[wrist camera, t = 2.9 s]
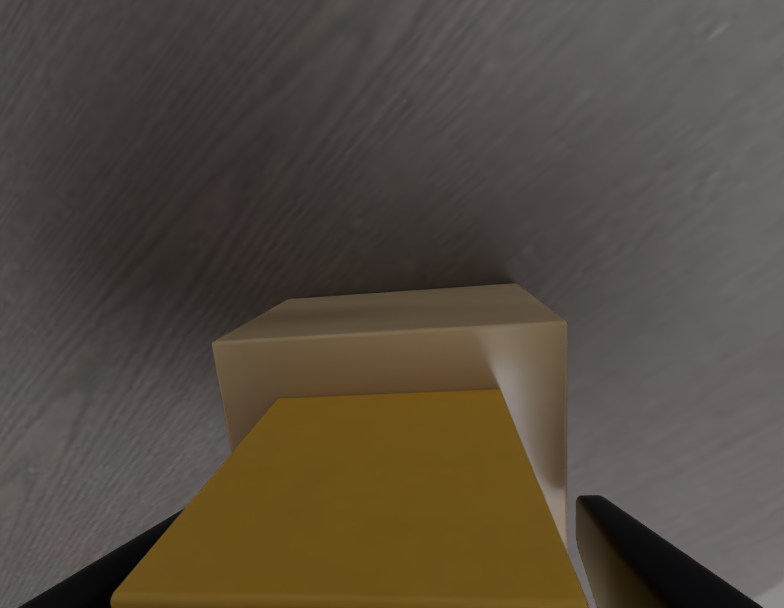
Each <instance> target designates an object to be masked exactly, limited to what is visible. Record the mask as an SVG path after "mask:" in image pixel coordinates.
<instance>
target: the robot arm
mask: <svg viewBox="0 0 784 608" xmlns="http://www.w3.org/2000/svg"><path fill="white" fill-rule="evenodd" d="M184 509H185V508H184ZM184 509H183V510H184ZM183 510H181V511H179V512H178V513H176V514H174V515H173V516H171V517H169V518H167V519H166V520H164V521H162V522H161V523H159V524H157V525H156V526H154V527H152V528H151V529H149V530H147V531H146V532H144V533H142V534H141V535H139V536H137V537H136V538H134V539H132V540H131V541H129V542H127V543H126V544H124V545H122V546H121V547H119V548H117V549H116V550H114V551H112V552H110V553H109V554H107V555H105V556H104V557H102V558H100V559H99V560H97V561H95V562H94V563H92V564H90V565H89V566H87V567H85V568H84V569H82V570H80V571H79V572H77V573H75V574H74V575H72V576H70V577H69V578H67V579H65V580H64V581H62V582H60V583H59V584H57V585H55V586H54V587H52V588H50V589H48V590H47V591H45V592H43V593H42V594H40V595H38V596H37V597H35V598H33V599H32V600H30V601H28V602H27V603H25V604H23V605H22V606H20V607H18V608H111V604H110V601H111V597H112V595H113V593H114V591H115V590H116V589H117V588H118V587H119V586H120V584H121V583H122V582H123V581H124V580H125V579H126V577H127V576H128V575H129V574H130V573H131V571H132V570H133V569H134V568H135V567H136V566H137V564H138V563H139V562H140V561H141V560H142V558H143V557H144V556H145V555H146V554H147V553H148V551H149V550H150V549H151V548H152V547H153V546H154V544H155V543H156V542H157V541H158V540H159V538H160V537H161V536H162V535H163V534H164V533H165V531H166V530H167V529H168V528H169V527H170V525H171V524H172V523H173V522H174V521H175V520H176V518H177V517H178V516H179V515H180V514H181V513H182V511H183ZM576 540H577V546H578V549H579V553H580V556H581V559H582V562H583V565H584V568H585V571H586V574H587V577H588V581H589V584H590V587H591V590H592V593H593V596H594V599H595V602H596V605H597V608H763V607H761V606H760V605H759V604H757V603H756V602H754V601H753V600H751V599H750V598H749V597H747V596H746V595H744V594H743V593H741V592H740V591H738V590H737V589H736V588H734V587H733V586H731V585H730V584H728V583H727V582H725V581H724V580H723V579H721V578H720V577H718V576H717V575H715V574H714V573H712V572H711V571H710V570H708V569H707V568H705V567H704V566H702V565H701V564H699V563H698V562H697V561H695V560H694V559H692V558H691V557H689V556H688V555H686V554H685V553H684V552H682V551H681V550H679V549H678V548H676V547H675V546H673V545H672V544H671V543H669V542H668V541H666V540H665V539H663V538H662V537H660V536H659V535H658V534H656V533H655V532H653V531H652V530H650V529H649V528H647V527H646V526H645V525H643V524H642V523H640V522H639V521H637V520H636V519H634V518H633V517H632V516H630V515H629V514H627V513H626V512H624V511H623V510H621V509H620V508H619V507H617V506H616V505H614V504H613V503H611V502H610V501H608V500H607V499H605V498H604V497H602V496H599V495H584V496H579V497H578V498H577V500H576Z"/></svg>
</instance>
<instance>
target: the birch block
mask: <svg viewBox="0 0 784 608" xmlns="http://www.w3.org/2000/svg"><path fill="white" fill-rule="evenodd" d="M212 349H213V354H214V360H215V365H216V371H217V376H218V382H219V387H220V392H221V398H222V403H223V409H224V414H225V419H226V425H227V430H228V436H229V441H230V447H231V452H233V451H234V450H235V449H236V448H237V446H238V445H239V444H240V443H241V442H242V441H243V439H244V438H245V437H246V436H247V435H248V434H249V432H250V431H251V430H252V429H253V428H254V426H255V425H256V424H257V423H258V422H259V421H260V419H261V418H262V417H263V416H264V415H265V413H266V412H267V411H268V410H269V409H270V408H271V406H272V405H273V404H274V403H275V402H276V401H277V400H278V399H280V398H300V397H324V396H348V395H371V394H395V393H419V392H443V391H467V390H490V389H498V390H501V392H502V394H503V396H504V399H505V401H506V404H507V406H508V409H509V411H510V414H511V416H512V418H513V421H514V423H515V426H516V428H517V431H518V433H519V436H520V438H521V440H522V443H523V445H524V448H525V450H526V453H527V455H528V458H529V460H530V463H531V465H532V467H533V470H534V472H535V475H536V477H537V480H538V482H539V485H540V487H541V489H542V492H543V494H544V497H545V499H546V502H547V504H548V507H549V509H550V512H551V514H552V516H553V519H554V521H555V524H556V526H557V529H558V531H559V534H560V536H561V538H562V541H563V543H564V546H565V548H566V551H567V323H566V321H565V320H564V319H563V318H561V317H560V316H559V315H557V314H556V313H555V312H553V311H552V310H551V309H549V308H548V307H547V306H545V305H544V304H543V303H541V302H540V301H539V300H538V299H536V298H535V297H534V296H532V295H531V294H530V293H528V292H527V291H526V290H524V289H523V288H522V287H520V286H519V285H518V284H516V283H511V284H497V285H483V286H469V287H454V288H440V289H426V290H412V291H397V292H383V293H369V294H354V295H340V296H326V297H312V298H297V299H288V300H286V301H284V302H282V303H281V304H279V305H277V306H275V307H274V308H272V309H270V310H268V311H266V312H265V313H263V314H261V315H259V316H258V317H256V318H254V319H252V320H251V321H249V322H247V323H245V324H243V325H242V326H240V327H238V328H236V329H235V330H233V331H231V332H229V333H228V334H226V335H224V336H222V337H221V338H219V339H217V340H215V341H213V343H212Z"/></svg>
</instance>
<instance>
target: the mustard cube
mask: <svg viewBox="0 0 784 608" xmlns="http://www.w3.org/2000/svg"><path fill="white" fill-rule="evenodd" d="M110 604H111V608H589V605H588V602H587V600H586V597H585V595H584V592H583V590H582V587H581V585H580V583H579V580H578V578H577V575H576V573H575V570H574V568H573V565H572V563H571V561H570V558H569V556H568V553H567V551H566V548H565V546H564V543H563V541H562V538H561V536H560V534H559V531H558V529H557V526H556V524H555V521H554V519H553V516H552V514H551V512H550V509H549V507H548V504H547V502H546V499H545V497H544V494H543V492H542V489H541V487H540V485H539V482H538V480H537V477H536V475H535V472H534V470H533V467H532V465H531V463H530V460H529V458H528V455H527V453H526V450H525V448H524V445H523V443H522V440H521V438H520V436H519V433H518V431H517V428H516V426H515V423H514V421H513V418H512V416H511V414H510V411H509V409H508V406H507V404H506V401H505V399H504V396H503V394H502V392H501V390H498V389H490V390H467V391H443V392H419V393H395V394H371V395H348V396H324V397H300V398H280V399H278V400H277V401H276V402H275V403H274V404H273V405H272V406H271V408H270V409H269V410H268V411H267V412H266V413H265V415H264V416H263V417H262V418H261V419H260V421H259V422H258V423H257V424H256V425H255V426H254V428H253V429H252V430H251V431H250V432H249V434H248V435H247V436H246V437H245V438H244V439H243V441H242V442H241V443H240V444H239V445H238V446H237V448H236V449H235V450H234V451H233V452H232V454H231V455H230V456H229V457H228V458H227V459H226V461H225V462H224V463H223V464H222V465H221V467H220V468H219V469H218V470H217V471H216V472H215V474H214V475H213V476H212V477H211V478H210V479H209V481H208V482H207V483H206V484H205V485H204V487H203V488H202V489H201V490H200V491H199V492H198V494H197V495H196V496H195V497H194V498H193V500H192V501H191V502H190V503H189V504H188V505H187V507H186V508H185V509H184V510H183V511H182V513H181V514H180V515H179V516H178V517H177V518H176V520H175V521H174V522H173V523H172V524H171V525H170V527H169V528H168V529H167V530H166V531H165V533H164V534H163V535H162V536H161V537H160V538H159V540H158V541H157V542H156V543H155V544H154V546H153V547H152V548H151V549H150V550H149V551H148V553H147V554H146V555H145V556H144V557H143V558H142V560H141V561H140V562H139V563H138V564H137V566H136V567H135V568H134V569H133V570H132V571H131V573H130V574H129V575H128V576H127V577H126V579H125V580H124V581H123V582H122V583H121V584H120V586H119V587H118V588H117V589H116V590H115V591H114V593H113V595H112V597H111V601H110Z"/></svg>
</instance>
